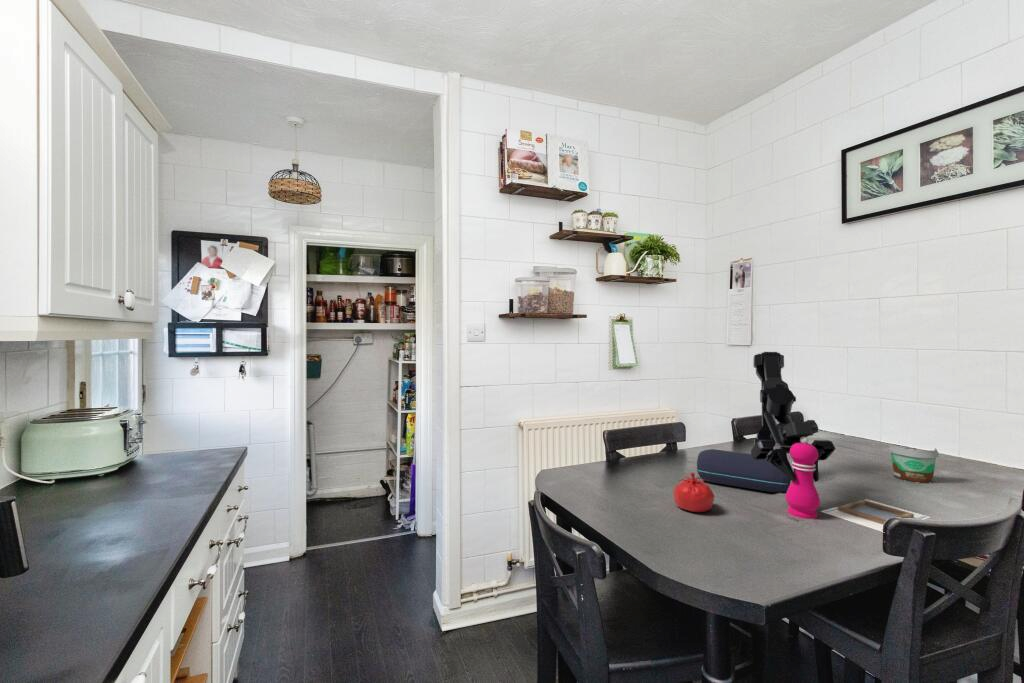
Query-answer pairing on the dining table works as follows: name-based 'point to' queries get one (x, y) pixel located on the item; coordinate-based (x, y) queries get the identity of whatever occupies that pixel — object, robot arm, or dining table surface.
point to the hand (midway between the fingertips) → (805, 480)
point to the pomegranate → (693, 495)
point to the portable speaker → (741, 471)
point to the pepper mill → (803, 481)
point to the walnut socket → (848, 507)
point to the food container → (913, 464)
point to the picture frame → (872, 512)
